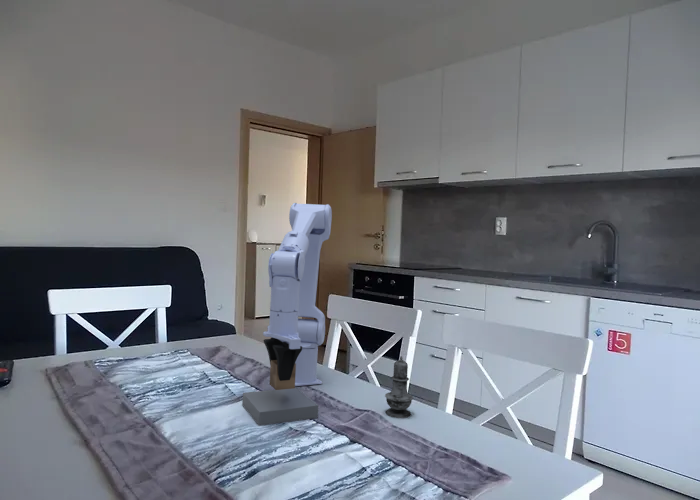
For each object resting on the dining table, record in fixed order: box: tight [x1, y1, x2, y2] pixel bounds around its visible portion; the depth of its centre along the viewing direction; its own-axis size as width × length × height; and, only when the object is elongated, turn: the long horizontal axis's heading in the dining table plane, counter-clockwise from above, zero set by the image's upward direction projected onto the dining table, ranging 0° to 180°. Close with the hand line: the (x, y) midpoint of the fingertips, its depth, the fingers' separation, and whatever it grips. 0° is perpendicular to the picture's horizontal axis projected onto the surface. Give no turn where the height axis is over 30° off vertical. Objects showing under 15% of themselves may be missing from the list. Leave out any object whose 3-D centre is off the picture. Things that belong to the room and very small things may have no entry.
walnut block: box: [269, 360, 296, 390], centre depth 99 cm, size 4×4×5 cm
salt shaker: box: [384, 356, 414, 419], centre depth 101 cm, size 6×6×12 cm
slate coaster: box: [241, 387, 319, 426], centre depth 99 cm, size 12×12×2 cm
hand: (280, 376), depth 99 cm, fingers closed on walnut block, 4 cm apart
